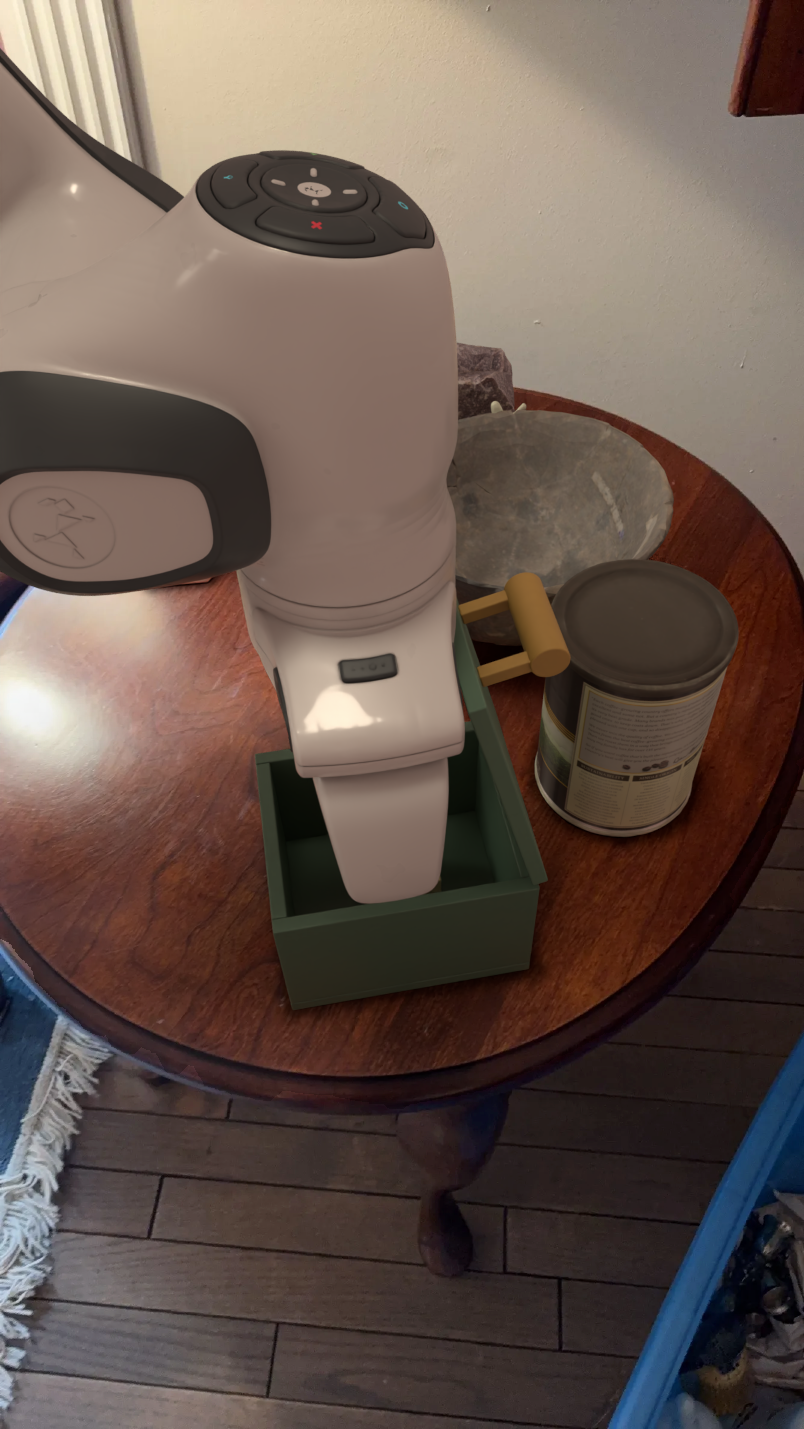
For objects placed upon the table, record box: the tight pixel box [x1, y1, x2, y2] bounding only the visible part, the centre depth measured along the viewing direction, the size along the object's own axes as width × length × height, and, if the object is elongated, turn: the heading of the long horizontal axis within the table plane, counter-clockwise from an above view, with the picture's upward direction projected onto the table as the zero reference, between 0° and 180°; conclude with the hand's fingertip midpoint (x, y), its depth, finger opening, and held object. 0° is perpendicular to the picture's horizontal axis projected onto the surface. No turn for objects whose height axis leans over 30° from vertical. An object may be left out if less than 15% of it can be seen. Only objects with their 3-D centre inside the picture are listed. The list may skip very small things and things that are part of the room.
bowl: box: [446, 409, 675, 647], centre depth 75 cm, size 21×21×10 cm
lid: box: [454, 572, 571, 885], centre depth 50 cm, size 15×12×5 cm
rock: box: [457, 342, 516, 420], centre depth 89 cm, size 14×14×15 cm
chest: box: [254, 720, 540, 1011], centre depth 59 cm, size 14×12×9 cm
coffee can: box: [534, 559, 740, 838], centre depth 63 cm, size 10×10×14 cm
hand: (366, 787), depth 53 cm, fingers open, 8 cm apart
